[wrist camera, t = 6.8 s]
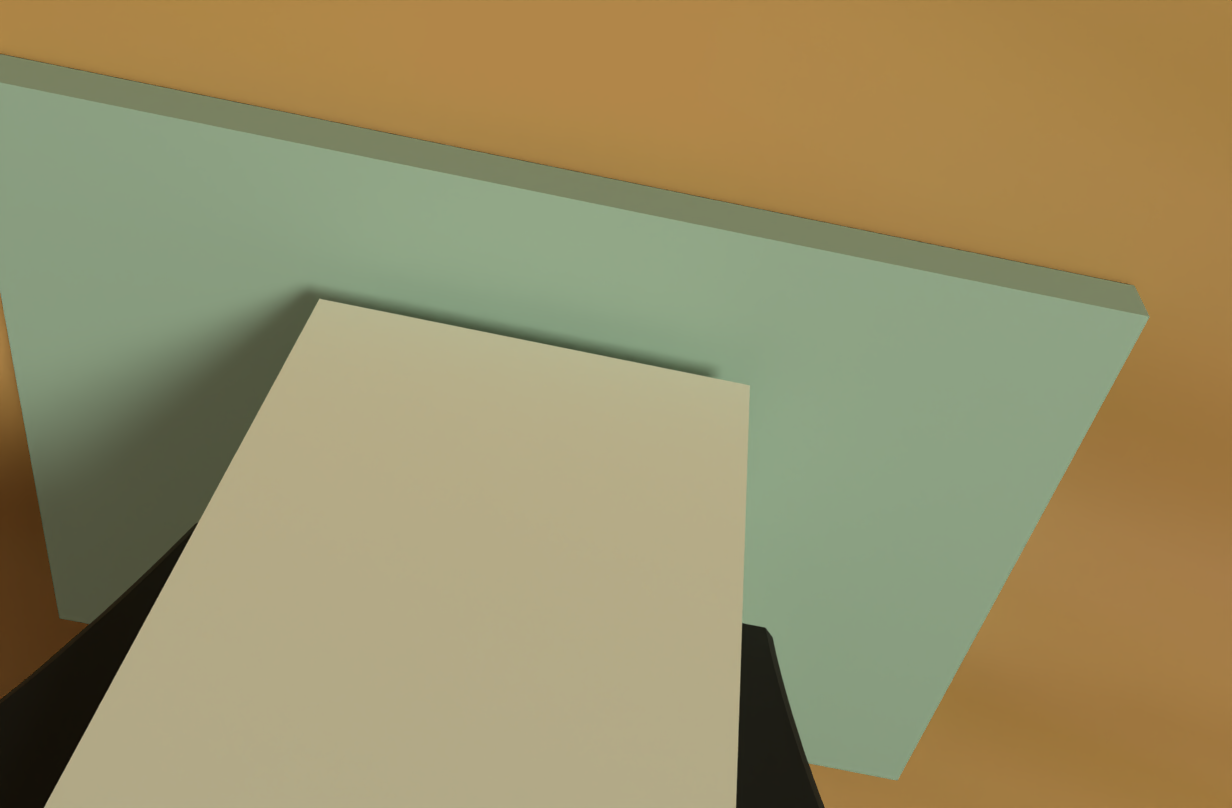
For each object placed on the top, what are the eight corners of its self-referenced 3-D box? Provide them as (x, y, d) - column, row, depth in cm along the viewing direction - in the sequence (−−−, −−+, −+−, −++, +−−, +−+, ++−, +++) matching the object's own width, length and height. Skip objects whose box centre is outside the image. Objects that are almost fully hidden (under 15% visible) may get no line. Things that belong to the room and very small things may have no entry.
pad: (1134, 286, 12) (1149, 316, 12) (894, 745, 17) (897, 780, 17) (-8, 52, 12) (-39, 74, 11) (79, 587, 17) (59, 618, 16)
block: (749, 385, 12) (724, 1147, 7) (644, 720, 16) (574, 1373, 10) (319, 299, 12) (-62, 1000, 7) (318, 656, 16) (79, 1284, 10)
